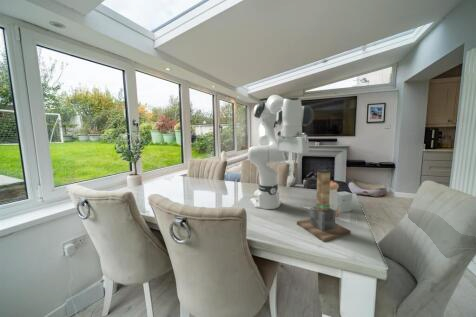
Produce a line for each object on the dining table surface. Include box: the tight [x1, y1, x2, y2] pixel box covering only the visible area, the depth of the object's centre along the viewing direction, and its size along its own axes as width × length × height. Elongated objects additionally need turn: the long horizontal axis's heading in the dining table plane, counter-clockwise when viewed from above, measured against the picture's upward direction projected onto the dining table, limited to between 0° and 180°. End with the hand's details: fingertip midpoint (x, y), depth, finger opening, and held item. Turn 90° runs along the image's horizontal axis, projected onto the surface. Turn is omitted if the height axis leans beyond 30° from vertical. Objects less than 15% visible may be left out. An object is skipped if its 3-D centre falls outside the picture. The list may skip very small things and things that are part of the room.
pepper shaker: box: [329, 180, 340, 217], centre depth 112 cm, size 7×7×19 cm
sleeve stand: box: [296, 205, 351, 243], centre depth 96 cm, size 18×16×10 cm
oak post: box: [315, 168, 331, 212], centre depth 94 cm, size 4×4×21 cm
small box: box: [337, 190, 353, 214], centre depth 117 cm, size 8×6×10 cm
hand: (291, 161), depth 96 cm, fingers open, 8 cm apart
